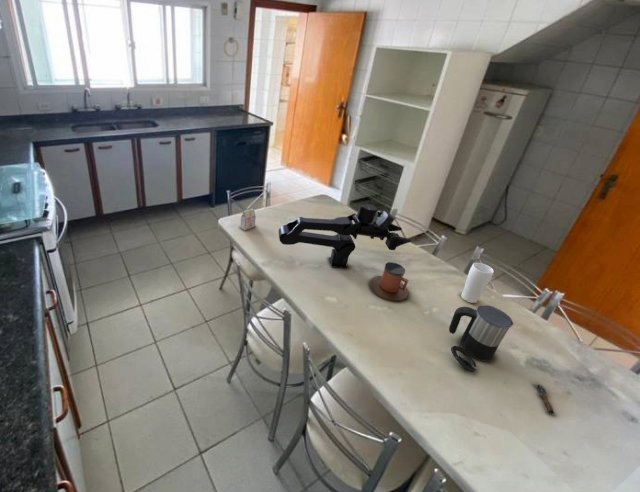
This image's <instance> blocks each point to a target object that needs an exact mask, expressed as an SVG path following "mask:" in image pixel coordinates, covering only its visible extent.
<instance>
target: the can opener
mask: <svg viewBox="0 0 640 492" xmlns="http://www.w3.org/2000/svg"><path fill="white" fill-rule="evenodd" d="M536 388H537V389H536V390H537V391H538V392H539V393H540V395H541V398H542V400H543V402H544V404H545V407H546V409H547V411H548V413H549V414H554V413H555V411H554V408H553V407H552V405H551V403H550V401H549V399H548V397H547V391H546V389H545V388H544V386H543V385H541V384H537V385H536Z"/></svg>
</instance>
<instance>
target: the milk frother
mask: <svg viewBox="0 0 640 492" xmlns="http://www.w3.org/2000/svg"><path fill="white" fill-rule="evenodd" d="M452 315H453V316H452V318H451V321H450V324H449V326H448V332H449V333H450V334H453V335H454V334H455V333H456V332H457V330H458V328H459V325H460V322H461V319H462V317H469V318H470V320H469V323H467V326H466V328H465V330H464V332H463V334H462V336H461V338H460V340H459V345H460V346H459V345H452V346H451V347H450V351H451V354H452V356H453V358H454V359H455V361H457V363H458V364H459V365H460V366H461V367H462V368H463V369H465V370H466V371H468V372H475V371H476V370H477V364H476V361H475V360H474V359H476V360H478V361H482V362H490V361H492V360H494V356H495V354H496V352H497V350H498V348H499V346H500V344H501V343H502V341H503V340H504V337H505V336H506V334H507V333H508V331H509V329H511V327H513V326H514V321H513V319H512V318H511V317H510V315H508V314H507V313H506V312H505V311H503V310H502V309H499V308H498V307H495V306H492V305H488V304H481V305H478V306H477V308H476V309H475V308H473V307H470V306H460V307H457V308H456V309H455V311H454V312H453V314H452ZM458 352H460V353H461V354H463V355H464V356H465V357H462V356H461V355H459V354H458ZM472 357H473V358H474V359H473V358H472Z"/></svg>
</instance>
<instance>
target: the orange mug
mask: <svg viewBox="0 0 640 492" xmlns="http://www.w3.org/2000/svg"><path fill="white" fill-rule="evenodd" d="M382 272H383V273H382V275H381V276H382V278H381V281H380V286H381V288H382V289H384V290H385V291H387V292H391V293H395V292H398V290H399V289H401V290H403V291H405V289H406V288H408V287H407V286H408V284H409V279H407V278H405V277H404V275H405V274H406V268H405V267H404V266H403V265H401V264H399V263H397V262H393V261H391V262H390V261H389V262H386V263H384V269H383V271H382ZM402 282H403V285H404V286H401V285H400V284H401V283H402Z"/></svg>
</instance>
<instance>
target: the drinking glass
mask: <svg viewBox="0 0 640 492" xmlns="http://www.w3.org/2000/svg"><path fill="white" fill-rule="evenodd" d="M494 272H495V270H494V269H493V267H491V266H489V265H488V264H485V263H482V262H473V263H472V265H471V266H470V269H469V271H468V274H467V276H466V280H465V283H464V285H463V289H462V291H461V294H460V295H461V298H462V300H464V301H465V302H468V303H470V304H475V303H478V301H479V299H480V297H481V295H482V294H483V292H484V291H485V289H486V288H487V286H488V284H489V283H490V281H491V279H492V277H493V275H494Z"/></svg>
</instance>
